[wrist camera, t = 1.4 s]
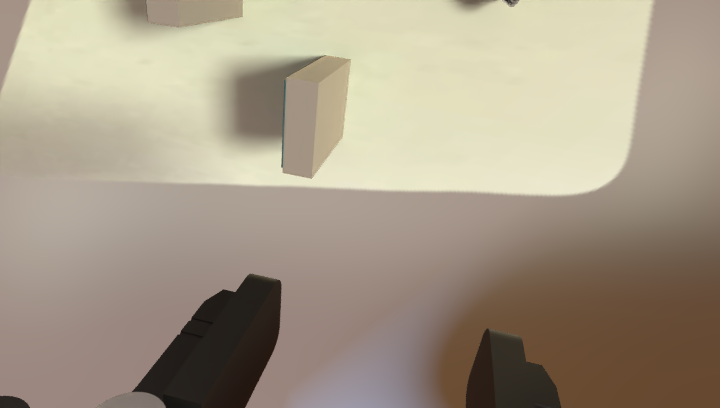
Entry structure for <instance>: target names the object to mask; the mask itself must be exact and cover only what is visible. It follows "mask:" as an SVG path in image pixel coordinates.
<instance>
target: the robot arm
mask: <svg viewBox="0 0 720 408" xmlns="http://www.w3.org/2000/svg"><path fill="white" fill-rule="evenodd" d="M280 309H281V281H280V280H277V279H272V278H268V277H264V276H259V275H254V274H249V275H248V276H247V277H246V278H245V280H244V281H243V283H242V284H241V285H240V287H239V288H238V289H237V291H236V292H232V291H228V290H222V291H220V292H219V293H217V294H216V295H214V296H212V297H211V298H209V299H208V300H206V301H204V303H203V304H202V305H201V306H200V308H199V309H198V310H197V311H196V313H195V314H194V315H193V316H192V319H191V321H188V323H187V324H186V325H185V326H184V328H183V329H182V330H181V333H180V335H177V337H176V338H175V339H174V340H173V342H172V343H171V344H170V345H169V347H168V348H167V349H166V350H165V352H164V353H163V354H162V355H161V357H160V358H159V359H158V361H157V362H156V363H155V364H154V365H153V367H152V368H151V369H150V371H149V372H148V373H147V374H146V376H145V377H144V378H143V379H142V381H141V382H140V383H139V384H138V386H137V387H136V388H135V389H134V390H133V391H132V392H130V393H125V394H121V395H118V396H115V397H113V398H111V399H109V400H106V401H105V402H103V403H102V404H100V405H99V406H97V407H96V408H245V407H246V405H247V403H248V401H249V399H250V397H251V395H252V393H253V391H254V389H255V387H256V385H257V383H258V381H259V379H260V377H261V375H262V373H263V371H264V369H265V367H266V365H267V363H268V361H269V359H270V357H271V355H272V353H273V351H274V348H275V345H276V342H277V339H278V334H279V328H280ZM0 408H30V407H29V405H28V404H27V403H26V402H25V401H24V400H22V399H20V398H16V397H13V396H0ZM466 408H561V405H560V401H559V397H558V392H557V388H556V386H555V384H554V383H553V382H552V380H551V379H550V377H549V375H548V374H547V372H546V371H545V369H544V368H543V366H542V365H539V364H534V363H530V362H526V359H525V353H524V347H523V342H522V338H521V337H520V336H518V335H514V334H510V333H505V332H501V331H496V330H492V329H486V330H485V332H484V334H483V337H482V340H481V343H480V346H479V349H478V352H477V354H476V357H475V361H474V363H473V366H472V369H471V372H470V375H469V379H468V384H467V391H466Z"/></svg>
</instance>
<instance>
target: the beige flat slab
mask: <svg viewBox="0 0 720 408" xmlns="http://www.w3.org/2000/svg"><path fill="white" fill-rule="evenodd" d="M146 7H147V17H148V22H149V23H155V24H161V25H167V26H173V27H184V26H190V25H196V24H202V23H207V22H213V21H219V20H224V19H230V18H236V17H242V16H243V0H146Z"/></svg>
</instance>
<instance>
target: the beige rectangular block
mask: <svg viewBox="0 0 720 408" xmlns="http://www.w3.org/2000/svg"><path fill="white" fill-rule="evenodd" d="M350 62H351V59H345V58H339V57H333V56H326V55H325V56H324V57H322V58H320V59H318V60H316V61H315V62H313V63H311V64H309V65H308V66H306V67H304V68H302V69H301V70H299V71H297V72H295V73H294V74H292V75H290V76H288V77H286V80H285V86H284V112H283V139H282V165H281V167H282V168H283V173H286V174H291V175H296V176H301V177H306V178H311V179H312V178H313V176H314V175H315V173H316V172H317V171H318V169H319V168H320V167H321V165H322V164H323V163H324V161H325V160H326V159H327V157H328V156H329V155H330V153H331V152H332V151H333V149H334V148H335V147H336V145H337V144H338V143H339V141H340V140H341V139H342V137H343V129H344V119H345V110H346V100H347V91H348V81H349V72H350Z"/></svg>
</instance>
